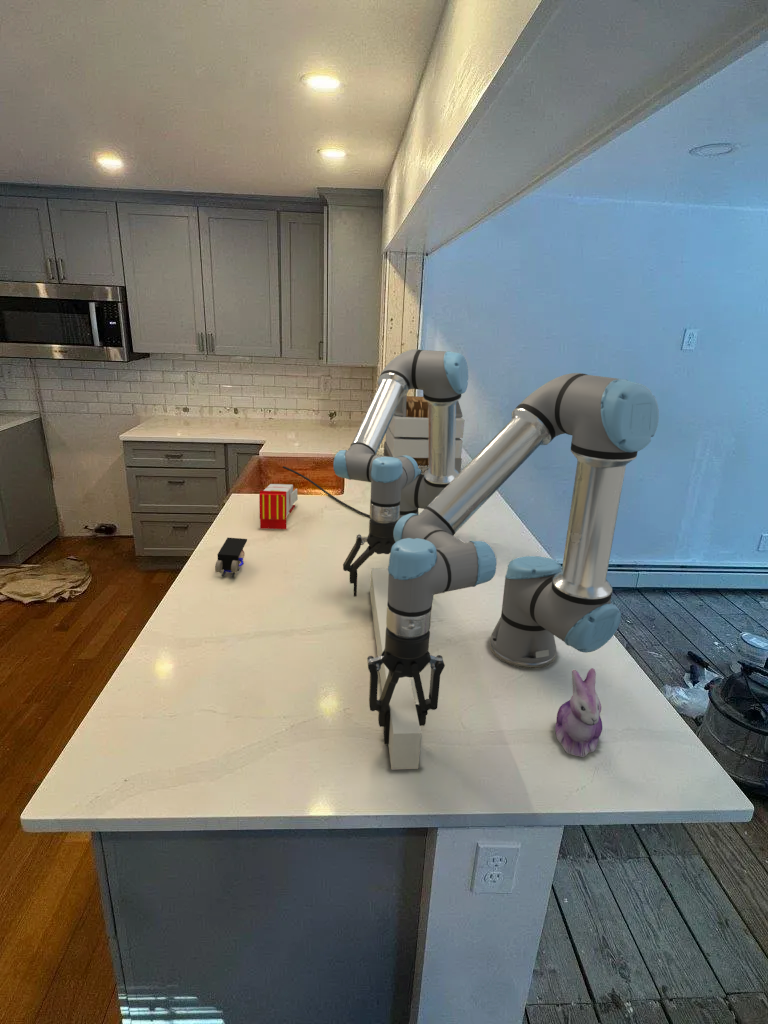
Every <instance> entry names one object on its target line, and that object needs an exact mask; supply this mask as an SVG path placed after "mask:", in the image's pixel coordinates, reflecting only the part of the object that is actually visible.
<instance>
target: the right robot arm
mask: <svg viewBox="0 0 768 1024" xmlns="http://www.w3.org/2000/svg"><path fill="white" fill-rule="evenodd" d="M659 419H660V410H659V405H658V400H657V398H656V396H655V395H654V394H653V392H652V390H651V389H650V388H649V387H647V386H646V385H644V384H642V383H639V382H634V381H631V380H628V379H626V378H616V377H610V376H601V375H592V374H587V373H582V372H572V373H566V374H563V375H560V376H557V377H555V378H553V379H551V380H549V381H547V382H546V383H544V384H543V385H541V386H540V387H538V388H536V389H535V390H534V391H533V392H531V393H530V394H529V395H528V396H526V397H525V398H524V399H523V400H522V401H521V402H520V403H519V404H518V405H516V407H515V408H514V409H513V410H512V412H511V420H510V421H508V423H507V424H505V426H503V427H502V428H501V430H499V432H498V433H497V434H496V435H495V436H494V437H493V438H492V439H491V440H490V441H489V442H488V443H487V444H486V445H484V447H483V448H482V449H481V450H480V451H479V452H478V453H477V454H476V455H475V456H474V457H473V459H471V461H469V462H468V464H467V465H466V466H465V467H463V468H462V469H461V472H460V473H459V474H458V475H457V476H456V477H455V478H454V479H453V480H452V481H451V482H450V483H449V484H448V485H447V486H446V487H445V488H444V489H443V490H442V491H441V493H440V494H439V495H438V496H437V497H436V498H435V499H434V500H433V501H432V502H431V503H430V504H429V505H428V506H427V507H426V508H425V509H422V511H421V512H420V513H418V514H415V513H410V514H407V515H405V516H402V517H401V518H400V519H399V520H398V521H397V523H396V525H395V527H394V532H393V535H394V540H395V542H396V543H394V545H393V546H392V548H391V553H389V561H388V566H387V568H388V573H389V577H388V603H387V617H386V626H387V627H386V636H385V649H384V651H383V653H382V656H379V657H378V656H376V657H374V656H373V655H369V656H367V658H366V660H367V662H366V663H367V668H368V672H369V689H368V690H369V692H368V702H369V703H368V705H369V711H371V712H378V717H377V719H378V720H377V721H378V726H379V728H383V742H384V743H383V744H384V745H388V744H389V730H390V708H389V703H390V700H391V697H392V694H393V692H394V689H395V686H396V684H397V683H398V680H399V678H402V677H410V679H411V678H413V683H414V688H415V693H416V696H417V701H418V703H415V705H416V710H417V715H418V720H419V725H420V727H424V726H425V725H426V722H427V716H428V714H429V712H428V711H430V710H431V711H435V710H437V709H438V705H439V694H440V683H441V675H442V673H443V671H444V669H445V666H446V665H445V662H444V659H443V656H442V655H441V654H438V655H436V656H434V655H432V654H431V653H430V651H429V649H430V637H431V632H430V629H431V625H432V624H431V622H432V610H433V602H434V596H435V595H439V594H445V593H447V592H453V591H457V590H462V589H467V588H475V587H477V586H479V585H481V584H485V583H487V582H490V581H492V579H493V578H494V576H495V575H496V572H497V566H498V565H497V557H496V554H495V552H494V549H493V548H492V547H491V545H490V544H488V543H487V542H485V541H484V540H483V541H482V540H475V541H474V540H470V541H468V542H464V541H463V540H460V539H459V538H457V537H455V535H456V534H457V532H458V531H459V530H460V529H461V528H462V527H463V526H464V525H465V524H466V523H467V522H468V521H469V520H470V519H471V517H473V515H475V514H476V513H477V512H478V511H479V509H480V508H482V506H483V505H484V504H485V503H486V502H487V501H488V500H489V499H490V498H491V497H492V496H493V495H494V494H495V493H496V492H497V490H499V489H500V487H501V486H502V485H503V484H504V483H505V482H506V481H507V480H508V479H509V478H510V477H511V476H512V475H513V474H514V473H515V472H516V471H517V470H518V469H519V468H520V467H521V466H522V464H524V463H525V461H526V460H527V459H528V458H529V457H530V456H531V455H532V454H533V453H534V452H535V451H536V450H537V449H538V448H539V447H540V446H548V445H550V443H551V442H552V441H553V440H554V439H555V438H556V437H558V436H561V435H565V434H566V435H568V436H571V443H570V452H571V453H572V455H573V456H574V457H575V458H576V460H577V461H576V467H575V476H574V481H573V482H574V483H573V489H572V495H571V496H572V497H571V503H570V509H569V517H568V524H567V532H566V538H565V545H564V552H563V557H562V558H563V559H562V565H561V563H560V562H559V561H558V560H556V559H554V558H553V559H552V558H549V557H545V556H540V555H539V556H536V555H526V556H520V557H519V556H518V557H515V558H514V559H512V560H510V562H509V563H508V565H507V568H506V574H505V576H504V587H503V595H502V605H501V613H500V617H499V619H498V621H497V623H496V624H495V627H494V629H493V630H492V632H491V635H490V637H489V649H490V651H491V653H492V654H493V655H494V656H495V657H496V658H497V659H499V660H500V661H501V662H504V663H505V664H508V665H511V666H514V667H516V668H522V669H532V670H533V669H542V668H545V667H547V666H549V665H551V664H552V663H553V662H554V661H555V660H556V654H557V644H556V640H555V638H557V639H559V640H561V641H562V642H564V644H565V645H566V646H568V647H571V648H573V649H574V650H576V651H578V652H581V653H585V654H587V653H592V652H595V651H598V650H599V649H600V648H602V647H603V646H605V645H606V644H607V643H608V642H609V641H610V640H611V639H612V638H613V636H614V635H615V634H616V632H617V630H618V628H619V626H620V625H621V624H620V623H621V620H622V613H621V610H620V609H619V607H617V605H616V604H615V603H612V602H611V601H612V596H613V585H612V583H610V582H609V580H608V579H607V577H608V570H609V565H610V559H611V553H612V548H613V544H614V543H613V542H614V537H615V531H616V526H617V521H618V520H617V519H618V515H619V508H620V503H621V497H622V492H623V491H622V490H623V486H624V479H625V473H626V468H627V465H628V464H630V463H631V462H633V461H634V460H636V459H637V457H638V452H639V451H642V450H644V449H645V448H646V447H647V446H649V444H650V443H651V442H652V439H651V438H653V437H655V435H656V432H657V430H658V426H659ZM383 663H384V665H385V666H386V667H387V668H388V670H389V673H388V677H387V680H386V683H385V685H384V688H383V691H382V690H381V695H380V697H379V699H378V686H379V674H378V672H380V671H379V670H380V669H381V665H382V664H383ZM428 665H429V667H430V678H429V689H428V698H426V697H425V693H424V689H423V683H422V678H421V673H422V671H423V670H424V669H425V668H426V667H427V666H428Z"/></svg>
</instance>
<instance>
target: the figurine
mask: <svg viewBox="0 0 768 1024" xmlns="http://www.w3.org/2000/svg"><path fill="white" fill-rule="evenodd" d="M596 672H597V671H596V669H595V668H593V667H591V668H590V669H588V671H587V673H586V677H585V678H584V679H583V678H582V677H581V674H580V673H579V672H578V671H577V670H576V669H572V670H571V677H572V678H571V680H572V681H571V682H572V695H571V697H570V699H569V700H567V701H565V702H563V703H562V704H561V705H560V706H559V707H558V710H557V713H556V719H555V720H556V721H555V725H554V730H555V736H556V740H557V741H558V742H559V744H560V745H561V746H562V748H563V750H564V752H565V753H566V754H568V755H571V756H572V755H573V756H576V757H582V758H583V757H586V756H588V754H589V753H593V752H595V751H596V749H597V745H598V743H599V738H600V736H601V734H602V732H603V721H602V717H601V712H602V703H601V699H600V697H599V695H598V693H597V691H596V690H597V689H596V678H597V673H596Z"/></svg>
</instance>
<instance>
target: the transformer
mask: <svg viewBox="0 0 768 1024" xmlns="http://www.w3.org/2000/svg"><path fill="white" fill-rule="evenodd" d="M407 394H408V393H407ZM407 394H406V395H405V396H404V397H402V398H401V400H400V402H399V405H398V407H397V409H396V411H395V414H394V416H393V418H392V420H391V422H390V425H389V427H388V429H387V431H386V434H385V437H384V442H383V456H388V457H395V458H397V457H398V456H403V455H407V456H410V457H412V458H413V459H414V460H415V461H416V462H417V465H418V467H429V463H428V402H427V401H426V400H425V399H424V398H423V396H415V395H414V396H413V395H412V396H411V395H407ZM464 429H465V419H464V418H463V411H462V408H461V405H460V402H459V400H458V401H457V402H456V432H455V470H457V471H458V473H460V472H461V471H462V461H463V460H462V453H463V442H464V441H463V440H462V439H463V438H464V431H465V430H464Z"/></svg>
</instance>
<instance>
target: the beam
mask: <svg viewBox="0 0 768 1024" xmlns="http://www.w3.org/2000/svg"><path fill="white" fill-rule="evenodd" d="M388 577H389V573H388V567H371V568H370V583H369V584H370V586H369V595H370V606H371V613H372V620H373V628H374V629H373V630H374V637H375V644H376V654H377V657H379V656H382V653H383V651H384V649H385V636H386V627H387V626H386V617H387V603H388ZM378 672H379V679H380V680H379V681H380V686H381V692H382V691H383V688H384V685H385V683H386V680H387V677H388V673H389V670H388V668H387V667H386V666H385V665H384V663H383V664H382V665H381V669H380V670H379V671H378ZM415 700H416V699H415V695H414V691H413V686H412V680H411V678H410V677H402V678H399V680H398V683H397V684H396V686H395V689H394V692H393V694H392V697H391V700H390V703H389V708H390V730H389V744H387V745H388V746H387V747H388V753H389V761H390V770H393V771H394V770H396V771H397V770H419V763H420V752H421V738H422V729H421V726H420V725H419V720H418V715H417V710H416V705H415V704H416V701H415Z"/></svg>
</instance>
